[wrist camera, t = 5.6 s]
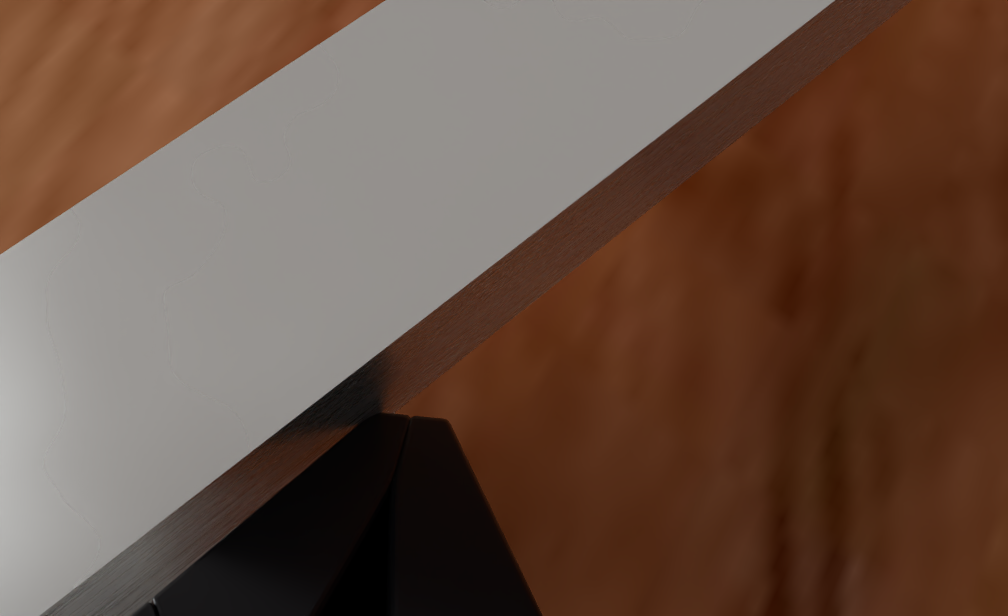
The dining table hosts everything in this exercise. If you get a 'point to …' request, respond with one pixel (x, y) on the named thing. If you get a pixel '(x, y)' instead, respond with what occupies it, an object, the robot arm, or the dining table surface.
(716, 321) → the dining table surface
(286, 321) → the bar
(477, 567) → the robot arm
